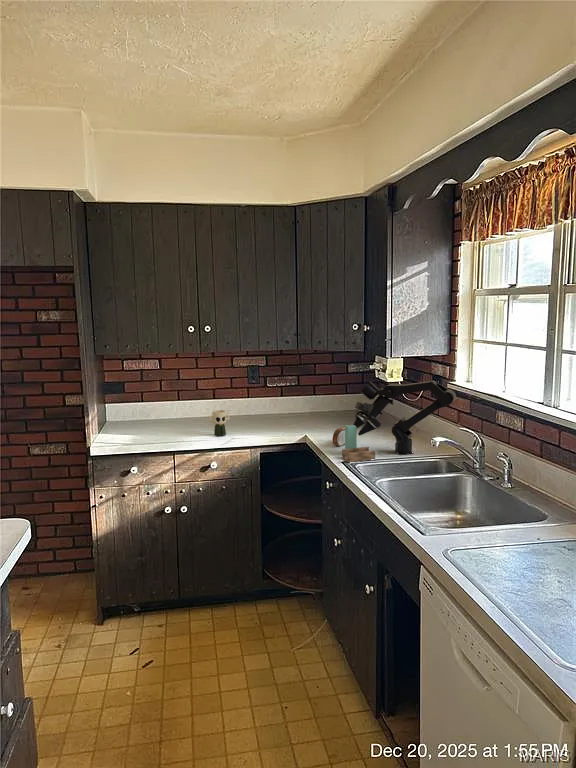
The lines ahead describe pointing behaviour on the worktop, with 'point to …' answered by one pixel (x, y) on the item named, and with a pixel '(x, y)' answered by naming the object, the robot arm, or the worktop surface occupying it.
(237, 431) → the worktop surface
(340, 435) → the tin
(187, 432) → the worktop surface
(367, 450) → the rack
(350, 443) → the block
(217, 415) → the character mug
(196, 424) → the worktop surface
